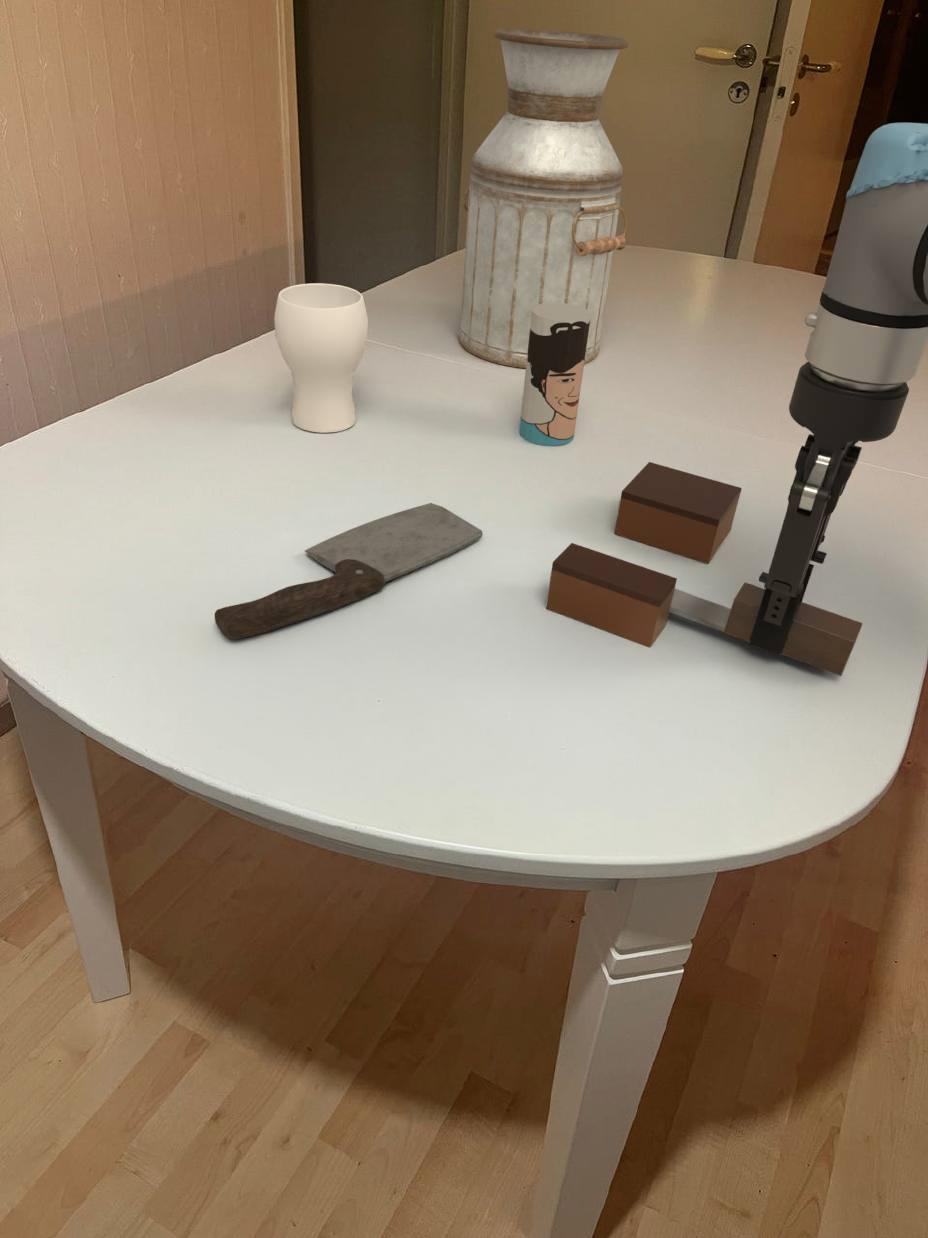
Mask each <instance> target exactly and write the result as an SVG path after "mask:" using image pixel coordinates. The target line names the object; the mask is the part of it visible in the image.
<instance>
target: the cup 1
mask: <svg viewBox="0 0 928 1238" xmlns="http://www.w3.org/2000/svg"><path fill="white" fill-rule="evenodd" d="M273 321H274V322H273V323H274V336H275V339H276V341H277V344H278V347H279V350H280V354H281V356H282V358H283V360H284V362H285V363H286V366H287V367H288V369H289V370H290V372H291V377H292V382H293V388H294V395H293V404H292V412H291V421H292V423H293V425H294V426H296V427H297V428H299V429H300V430H301V429H302V430H304V431H307V432H313V433H323V434H326V433H328V434H329V433H336V432H342V431H345V430H348V429H349V428H351V427H353V426H354V425H355V423H356V421H357V417H356V409H355V404H354V398H353V392H352V390H353V383H354V375H355V372H356V370H357V368H358V366H359V364H360V362H361V360H362V359H363V356H364V352H365V349H366V346H367V342H368V337H369V317H368V312H367V308H366V302H365V300H364V296H363V295H362V293H361V292H359V291H358V290H357V289H354V288H352V287H349V286H345V285H340V284H335V283H321V282H315V283H301V284H296V285H290V286H287V287H285V288H283V289H281V290H280V291H279V292H278V296H277V299H276V305H275V310H274V316H273Z"/></svg>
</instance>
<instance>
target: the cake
mask: <svg viewBox="0 0 928 1238" xmlns="http://www.w3.org/2000/svg"><path fill="white" fill-rule="evenodd" d="M741 493H742V487H740V486H736V485H733V484H729V483H726V482H722V481H718V480H715V479H711V478H708V477H705V476H701V475H697V474H693V473H690V472H687V471H683V470H679V469H676V468H672V467H669V466H666V465H662V464H658V463H655V462H651V461H649V462H647V463H646V465H645V466H644V467H642V469H641V470H640V471H639V472H638V473H637V474H636V475H635V476H634V477H633V478H632V480H631V481H630V482H629V483H628V484H627V485H626V486H625V487H624V488H623V489H622V490H621V494H620V500H619V505H618V510H617V515H616V517H617V518H616V521H615V527H614V533H613V534H614V535H615V536H619V537H621V538H626V539H629V540H632V541H635V542H638V543H641V544H643V545H648V546H650V547H654V548H657V549H660V550H663V551H666V552H670V553H673V554H675V555H679V556H682V557H685V558H688V559H691V560H695V561H698V562H701V563H704V564H707V565H708V564H709V563H710V562H711V560H712V559H713V557H714V556H715V554H716V553H717V551H718V550H719V548H720V547H721V545H722V544H723V543H724V541H725V539H726V538H727V537H728V535H729V533H730V532H731V530H732V527H733V522H734V519H735V515H736V511H737V508H738V504H739V500H740V497H741Z"/></svg>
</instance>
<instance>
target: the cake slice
mask: <svg viewBox="0 0 928 1238" xmlns="http://www.w3.org/2000/svg"><path fill="white" fill-rule="evenodd" d="M677 582H678V578H677V577H674V576H671V575H668V574H666V573H663V572H659V571H656V570H653V569H650V568H648V567H644V566H641V565H638V564H635V563H633V562H629V561H627V560H624V559H621V558H618V557H615V556H612V555H609V554H606V553H603V552H600V551H597V550H595V549H592V548H588V547H586V546H582V545H581V544H580V545H579V544H576V543H573V542H570V544H569V545H568V546H567V547H566V548H565V549H564V550H562V552H561V553H560V554H559V555H558V556H557V557H556V558H555V559H554V560H553V561H552V565H551V571H550V577H549V585H548V593H547V600H546V605H545V609H546V610H549V611H551V612H554V613H556V614H560V615H561V616H564V617H567V618H570V619H572V620H576V621H578V622H581V623H583V624H586V625H588V626H591V627H594V628H597V629H600V630H602V631H605V632H608V633H611V634H613V635H616V636H619V637H621V638H624V639H626V640H629V641H632V642H634V643H637V644H640V645H642V646H644V647H648V648H652V646H653V644H654V643H655V642H656V641H657V638H659V636H660V634H661V633H662V632H663V630H664V628H665V627H666V626H667V624H668V623H667V622H668V620H669V619H668V618H669V615H670V612H669V611H670V607H671V602H672V598H673V594H674V590H675V589H676V586H677V585H676V584H677Z"/></svg>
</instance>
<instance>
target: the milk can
mask: <svg viewBox="0 0 928 1238" xmlns="http://www.w3.org/2000/svg"><path fill="white" fill-rule="evenodd" d="M493 37H494V38H495V39H497V40H500V44H501V51H502V57H503V62H504V69H505V74H506V81H507V88H508V90H507V111H506V112H505V113H504V115H503V116H502V118H501V119H500V120H498V121H499V122H497V123H496V125H495V127H494V128H493V129H492V130H491V132H490V133H489V134H488V135H487V137H486V138H485V139H484V141H483V142H482V143H481V145H480V146H479V148H477V150H476V151H475V153H474V154H473V156H472V157H471V159H470V162H469V163H470V164H469V169H470V175H469V177H468V178H469V181H468V182H469V185H468V186H467V188H466V190H465V192H464V195H463V200H462V204H463V208H464V209H465V213H466V214H465V215H466V216H467V217H466V235H465V248H464V249H465V251H464V267H463V281H462V282H463V283H462V299H461V315H460V322H459V328H458V329H459V330H458V337H457V338H458V340H459V344H460V345H461V347H462V348H463V349H464V350H466V351H467V352H468V353H470V354H472V355H473V356H475V357H476V358H480V359H482V360H485V361H488V362H491V363H494V364H499V365H501V366H507V367H513V368H520V369H526V362H527V353H528V343H529V334H530V324H531V314H532V309H533V307H534V306H536V305H538V304H542V303H566V304H572V305H576V306H580V307H582V308H585V309H587V310H588V311H589V312H590V313H591V319H590V326H589V333H588V340H587V347H586V354H585V361H584V364H588V363H589V362H591V361H592V360H594V359H595V358H596V357H597V356H598V354H599V352H600V349H601V347H600V346H601V340H602V339H601V338H602V330H603V323H604V317H605V310H606V303H607V298H608V297H607V296H608V289H609V283H610V276H611V269H612V262H613V255H614V250H616V251H623V250H624V249H625V247H626V245H627V240H626V237H625V236H626V233H627V229H628V219H627V215H626V213H625V211H624V210H623V208H621V197H622V193H623V187H622V185H623V183H624V180H625V171H624V169H623V166H622V164H621V162H620V160H619V158H618V156H617V154H616V152H615V149H614V148H613V146H612V144H611V142H610V140H609V138H608V136H607V134H606V132H605V129H604V128H603V126H602V124H601V121H600V119H599V115H600V109H601V104H602V98H603V95H604V92H605V89H606V88H607V87H606V86H607V84H608V81H609V79H610V76H611V73H612V71H613V68H614V66H615V63H616V60H617V57H618V55H619V53H620V50H623V49H627V48H628V47H629V41H628V40H626V39H623V38H620V37H614V36H608V35H602V34H595V33H594V34H593V33H586V32H585V33H584V32H575V31H565V30H551V29H531V28H499V29H496V30H494V32H493ZM467 195H468V201H466V200H467ZM466 203H468V204H466ZM620 213H621V214H622V217H623V221H624V226H623V227H624V228H623V231H622V234H618V235H617V230H618V223H619V222H618V221H619V215H620Z"/></svg>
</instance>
